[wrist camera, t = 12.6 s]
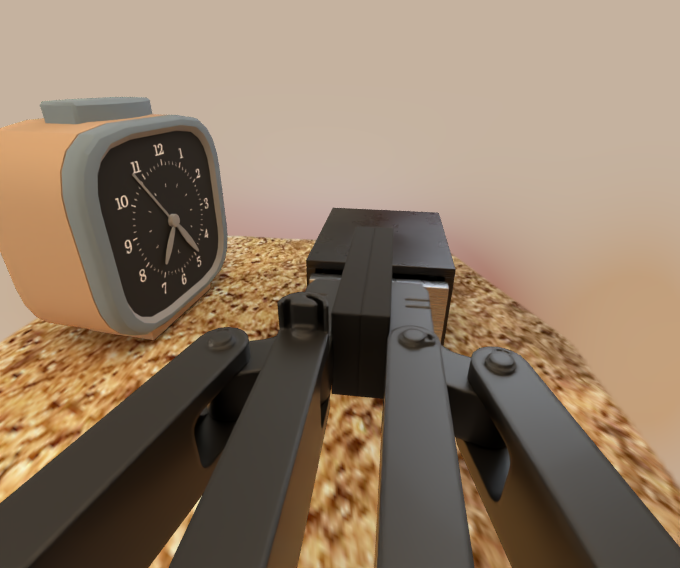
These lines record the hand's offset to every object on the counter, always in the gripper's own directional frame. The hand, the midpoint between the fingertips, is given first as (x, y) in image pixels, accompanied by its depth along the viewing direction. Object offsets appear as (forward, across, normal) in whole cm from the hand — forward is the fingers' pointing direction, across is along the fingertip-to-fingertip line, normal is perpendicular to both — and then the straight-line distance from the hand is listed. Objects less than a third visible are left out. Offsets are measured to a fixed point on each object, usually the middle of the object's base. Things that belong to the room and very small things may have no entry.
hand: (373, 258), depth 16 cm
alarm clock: (+21, -25, -17) cm, 37 cm away
